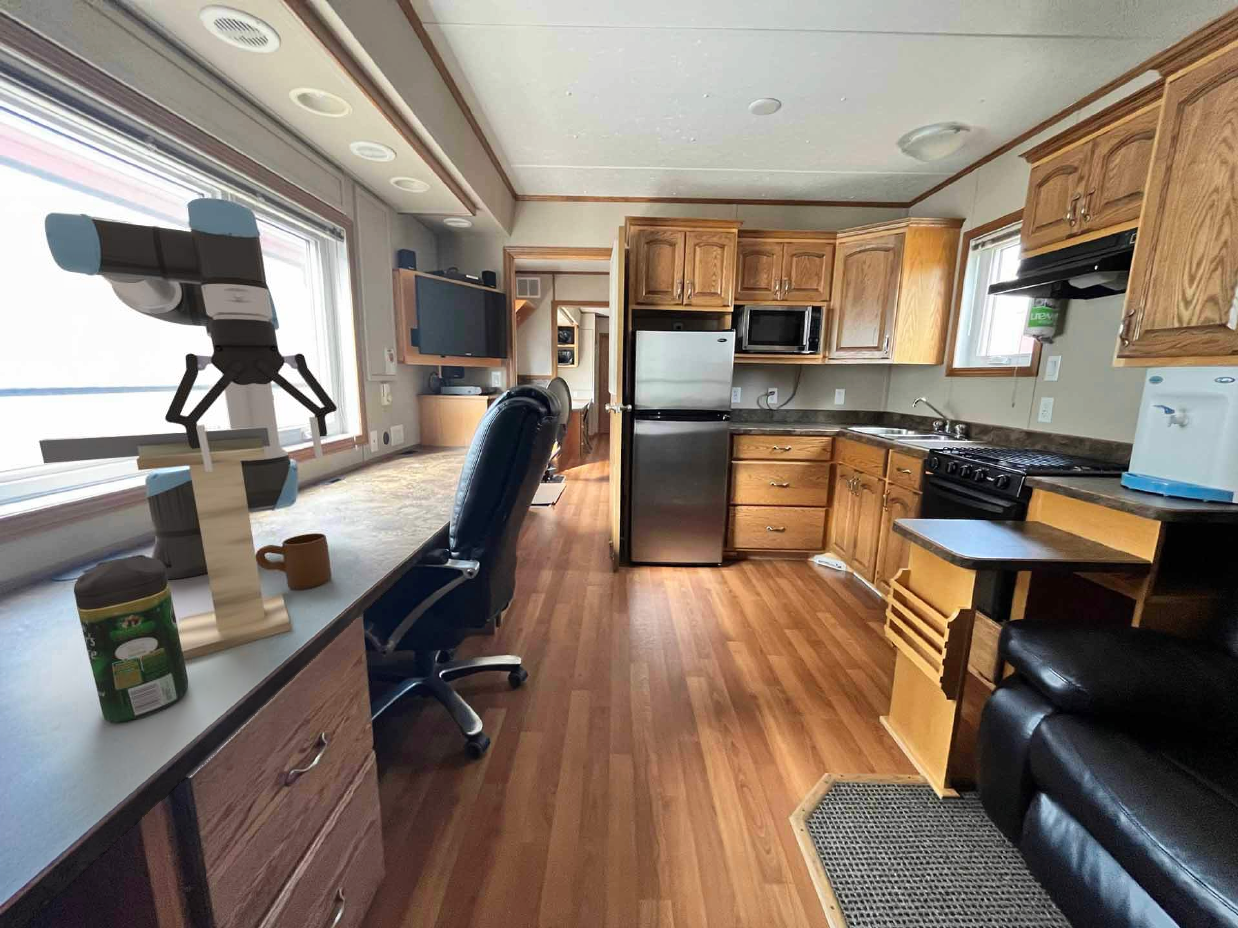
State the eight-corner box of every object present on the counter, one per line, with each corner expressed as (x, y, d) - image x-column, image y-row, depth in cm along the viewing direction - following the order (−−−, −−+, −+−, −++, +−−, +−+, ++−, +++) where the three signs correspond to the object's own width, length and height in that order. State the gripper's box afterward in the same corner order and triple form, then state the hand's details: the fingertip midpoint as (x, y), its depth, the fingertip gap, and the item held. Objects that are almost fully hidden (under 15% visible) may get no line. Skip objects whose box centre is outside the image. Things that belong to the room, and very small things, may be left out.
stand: (181, 626, 78) (146, 441, 73) (282, 601, 87) (258, 433, 82) (174, 663, 68) (133, 449, 63) (290, 629, 77) (263, 440, 71)
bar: (50, 460, 64) (45, 439, 63) (268, 444, 79) (266, 426, 78) (44, 463, 61) (38, 440, 61) (269, 446, 76) (267, 427, 76)
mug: (257, 599, 88) (250, 552, 87) (263, 585, 95) (256, 540, 93) (331, 585, 94) (325, 540, 93) (332, 572, 101) (327, 530, 99)
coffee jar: (104, 697, 60) (74, 561, 57) (187, 671, 66) (163, 545, 63) (98, 736, 54) (63, 584, 50) (191, 702, 59) (165, 564, 56)
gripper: (112, 312, 57) (151, 481, 61) (344, 321, 72) (362, 455, 77) (122, 318, 62) (158, 472, 67) (335, 325, 78) (353, 449, 82)
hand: (267, 463), depth 72 cm, fingers open, 13 cm apart
